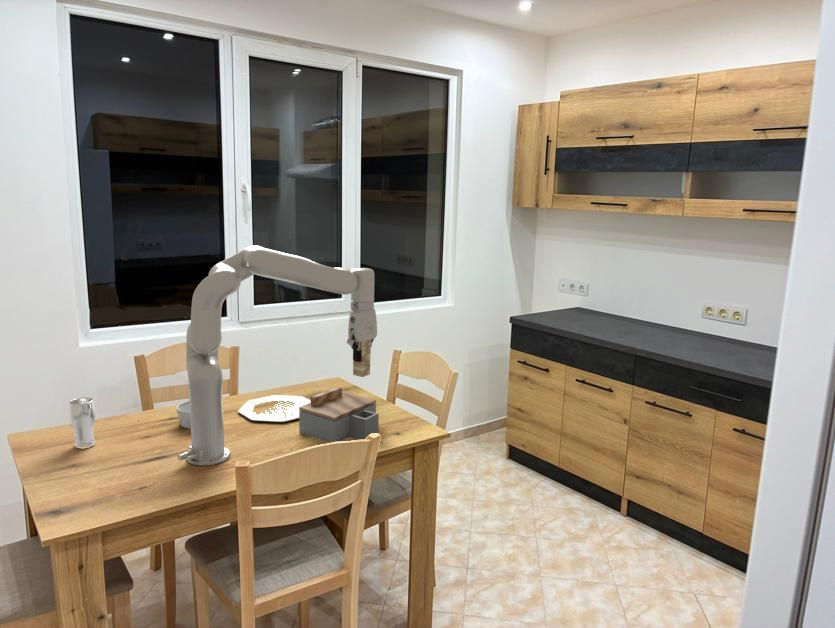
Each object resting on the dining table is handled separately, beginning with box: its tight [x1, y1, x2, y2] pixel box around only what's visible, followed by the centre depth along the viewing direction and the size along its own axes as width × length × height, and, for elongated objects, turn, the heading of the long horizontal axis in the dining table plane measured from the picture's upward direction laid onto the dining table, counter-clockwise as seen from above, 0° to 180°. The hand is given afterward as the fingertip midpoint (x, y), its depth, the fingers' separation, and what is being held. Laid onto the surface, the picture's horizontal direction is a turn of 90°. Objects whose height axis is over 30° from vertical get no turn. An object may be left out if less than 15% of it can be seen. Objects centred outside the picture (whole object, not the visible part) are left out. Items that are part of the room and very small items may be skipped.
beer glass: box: [69, 396, 97, 447], centre depth 192 cm, size 7×7×15 cm
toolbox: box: [298, 402, 380, 443], centre depth 210 cm, size 22×23×8 cm
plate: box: [237, 394, 311, 423], centre depth 229 cm, size 28×28×2 cm
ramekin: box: [176, 400, 191, 430], centre depth 213 cm, size 13×13×7 cm
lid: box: [299, 386, 377, 421], centre depth 211 cm, size 22×16×4 cm
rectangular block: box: [352, 340, 371, 378], centre depth 202 cm, size 4×4×14 cm
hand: (361, 359), depth 202 cm, fingers closed on rectangular block, 4 cm apart
